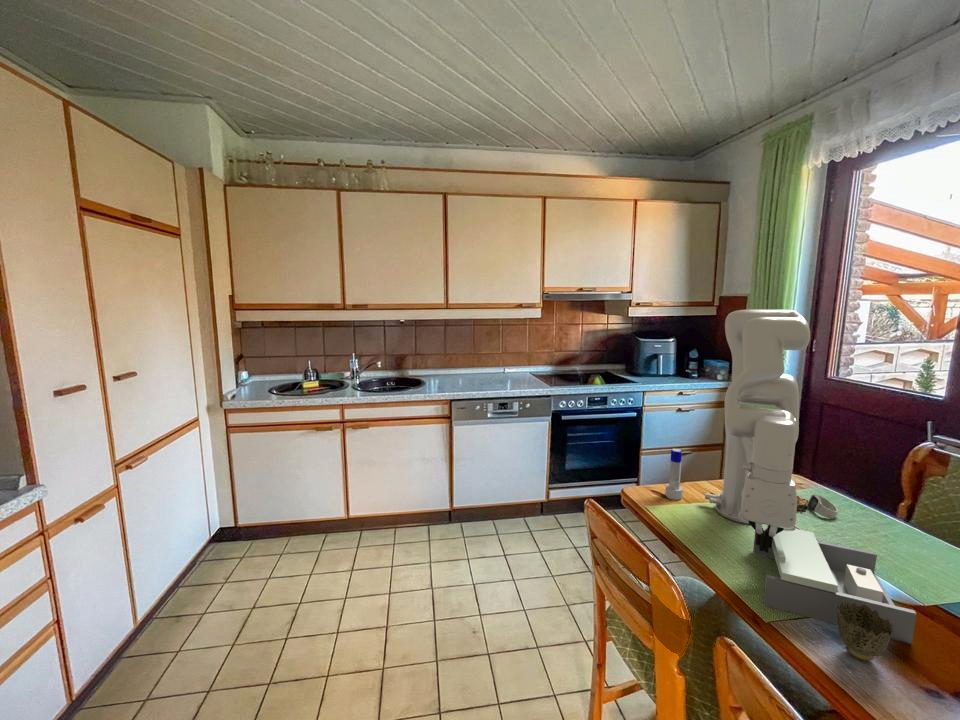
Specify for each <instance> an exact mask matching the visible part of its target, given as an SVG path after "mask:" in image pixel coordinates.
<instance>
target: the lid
mask: <svg viewBox="0 0 960 720" xmlns="http://www.w3.org/2000/svg"><path fill="white" fill-rule="evenodd" d="M766 527H768V525H766ZM817 541H818V540H817V538H816V536H815V533H814V532H813V531H807V530H802V529H797V528H795V530H794V531H784V530H783V531H781V532H779V533H778V534H776V535H775V536H774V537H773V541H772V549H773V552H774V556H775V558H774V559H775V562H776V566H777V570H778V572H779V573H778V574H779V578H781V580H785V581H789V582H793V583H797V584H801V585H805V586H809V587H814V588H818V589H822V590H826V591H830V592H834V593H837V589H838V585H837V583H836V580H835V578H834V576H833V574H832V572H831V570H830V568H829V566H828V563H827V561H826V559H825V557H824V555H823V553H822V551H821V549H820V546H819V544H818V542H817Z"/></svg>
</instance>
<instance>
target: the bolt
mask: <svg viewBox="0 0 960 720" xmlns="http://www.w3.org/2000/svg"><path fill="white" fill-rule="evenodd" d="M682 456H683V451H682V450H681V449H680V448H672V449H671V450H670V462H669V463H670V464H669V465H670V466H669V478H668V479H669V480H668V484H666V485H665V490H664V491H665V494H664V495H665V496H666V498H668V499H670V500H675V501H678V500H681V499H682V498H683V491H684V490H683V487H682V486H681V472H682V470H681V469H682Z"/></svg>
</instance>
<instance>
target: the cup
mask: <svg viewBox="0 0 960 720" xmlns="http://www.w3.org/2000/svg"><path fill="white" fill-rule="evenodd" d="M837 621H838V625H837V630H838V634H839V637H840V639H841V641H842V642H843V644H844V645H845V649H846V652H847V653H848V655H849V656H851V658H854V659H855V660H857V661H859V662H862V663H870V662H872V661H873V660H874V658H876V657H879V656H881V655H882V654H884V653H885V651H886V650H887V648H888V645H889V643H890V640H891V639H890V637H891V634H892V631H893V627H894V625H893V624H890V620H889V619H885V621H884V620H883V618H880V617H879V612H878V611H877V610H874V611H872V610H871V609H870V608H869V607H868V606H866V605H861V606H857V604H856V603H855V602H853V603H852V605H851V606H850V604H849V603H848V602H845V603H844V604H843V602H842V603H841V605H840V607H839V605H838V607H837Z"/></svg>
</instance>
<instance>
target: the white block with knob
mask: <svg viewBox="0 0 960 720" xmlns="http://www.w3.org/2000/svg"><path fill="white" fill-rule="evenodd" d="M844 586H845V589H846V591H847V593H848V595H852V596H857V597H861V598H865V599H869V600H873V601H877V602H882V599H883V590H882V589H881V587H880V585H879V584H878V582H877V580H876V578H875V577H874V575H873V573H872V572H871V570H870V569H866V568H861V567H857V566H852V565H848V564H847V565H846V572H845V580H844Z"/></svg>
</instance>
